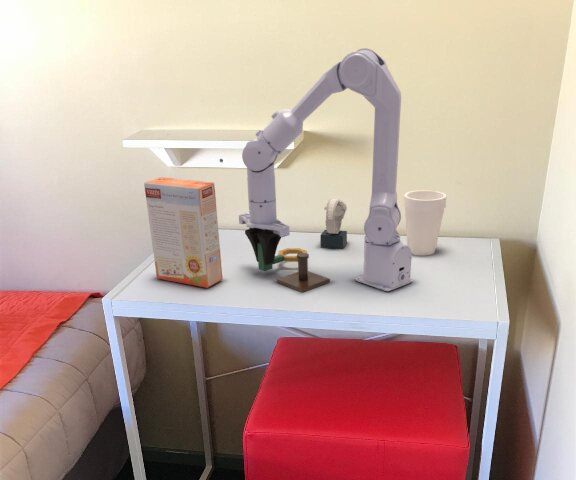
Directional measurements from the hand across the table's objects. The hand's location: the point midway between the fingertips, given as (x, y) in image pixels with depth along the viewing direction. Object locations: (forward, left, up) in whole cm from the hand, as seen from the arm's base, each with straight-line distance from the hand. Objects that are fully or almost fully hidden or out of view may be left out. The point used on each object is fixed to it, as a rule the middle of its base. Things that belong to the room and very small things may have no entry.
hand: (265, 262), depth 144 cm
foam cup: (-15, -35, -3) cm, 38 cm away
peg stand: (-10, -2, -3) cm, 11 cm away
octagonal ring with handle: (0, -5, -2) cm, 5 cm away
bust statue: (+3, -24, -3) cm, 24 cm away
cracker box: (+9, +14, -3) cm, 17 cm away
